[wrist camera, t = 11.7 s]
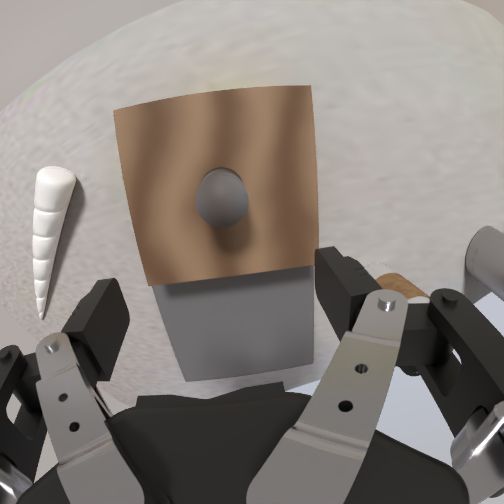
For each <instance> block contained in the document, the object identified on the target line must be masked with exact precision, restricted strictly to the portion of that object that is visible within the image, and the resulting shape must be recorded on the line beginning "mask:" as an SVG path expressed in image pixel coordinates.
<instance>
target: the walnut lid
mask: <svg viewBox="0 0 504 504" xmlns="http://www.w3.org/2000/svg"><path fill="white" fill-rule="evenodd" d="M113 112H114V121H115V129H116V136H117V143H118V150H119V156H120V162H121V168H122V174H123V180H124V185H125V190H126V195H127V200H128V205H129V210H130V215H131V219H132V224H133V228H134V232H135V236H136V241H137V245H138V249H139V253H140V257H141V261H142V264H143V268H144V272H145V275H146V279H147V283H148V286H155V285H163V284H172V283H180V282H188V281H197V280H205V279H213V278H221V277H228V276H236V275H244V274H251V273H259V272H266V271H274V270H281V269H288V268H295V267H302V266H309V265H315V259H314V254H315V250H316V249H319V224H318V186H317V163H316V145H315V129H314V116H313V104H312V93H311V86H270V87H254V88H241V89H231V90H221V91H213V92H205V93H198V94H191V95H185V96H179V97H173V98H168V99H162V100H157V101H152V102H148V103H143V104H139V105H134V106H130V107H126V108H122V109H118V110H114V111H113Z"/></svg>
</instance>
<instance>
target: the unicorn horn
mask: <svg viewBox="0 0 504 504" xmlns="http://www.w3.org/2000/svg"><path fill="white" fill-rule="evenodd" d="M75 183H76V177H75V175H74V174H73V173H72V172H71V171H69V170H67V169H64V168H61V167H55V166H49V167H44V168H42V169H41V170H40V171H39V172H38V174H37V177H36V186H35V199H34V206H35V209H34V215H33V233H34V234H35V235H34V236H33V257H34V259H33V271H34V278H35V280H34V284H35V294H36V297H37V299H36V301H37V307H38V312H39V313H40V314H39V316H40V319H41V320H42V318H43V315H44V310H45V305H46V300H47V294H48V289H49V283H50V278H51V273H52V268H53V264H54V259H55V254H56V250H57V246H58V242H59V237H60V233H61V230H62V226H63V222H64V218H65V215H66V211H67V208H68V205H69V202H70V198H71V195H72V192H73V189H74V186H75Z"/></svg>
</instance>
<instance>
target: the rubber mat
mask: <svg viewBox="0 0 504 504" xmlns="http://www.w3.org/2000/svg"><path fill="white" fill-rule="evenodd" d="M152 288H153V291H154V294H155V298H156V301H157V304H158V307H159V310H160V313H161V316H162V319H163V322H164V325H165V328H166V331H167V333H168V336H169V339H170V342H171V345H172V347H173V350H174V353H175V355H176V358H177V361H178V363H179V366H180V368H181V371H182V373H183V376H184V378H185V381H186V382H190V381H201V380H211V379H220V378H228V377H236V376H243V375H250V374H257V373H263V372H269V371H275V370H281V369H287V368H292V367H297V366H302V365H307V364H312V363H313V345H314V276H313V265H309V266H302V267H295V268H288V269H281V270H274V271H266V272H259V273H251V274H244V275H236V276H228V277H221V278H213V279H205V280H197V281H188V282H180V283H172V284H163V285H155V286H152Z"/></svg>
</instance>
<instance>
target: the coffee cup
mask: <svg viewBox="0 0 504 504" xmlns="http://www.w3.org/2000/svg"><path fill="white" fill-rule="evenodd" d="M364 269H366V270H367V271H368V273H369V274H370V275H371V276H372V277H373V278H374V279H375V280H376V282H377V283H378V284H379V285H380V286H381V287H382V288H383V289H387V290H393V291H397V292H399V293H401V294H402V295H404V296H405V297H406V299H407V300H408V303H429V301H430V297H429V296H428V295H427V294H425V293H424V292H423V291H421V290H420V289H419V288H417V287H416V286H415V285H413V284H412V283H411V282H409V281H408V280H407V279H405V278H404V277H403V276H401V275H400V274H398V273H397V272H395V271H394V270H393V269H392V268H390V267H389V266H388V265H386V264H384V263H380V262H379V263H373V264H370V265H368V266H367V267H365V268H364ZM398 367H400V368H401V370H402V371H403V372H404V373H405V374H407V375H410V376H419V375H420V373H419V372H418V370H417V368H416V367H415V365H414V366H398Z"/></svg>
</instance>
